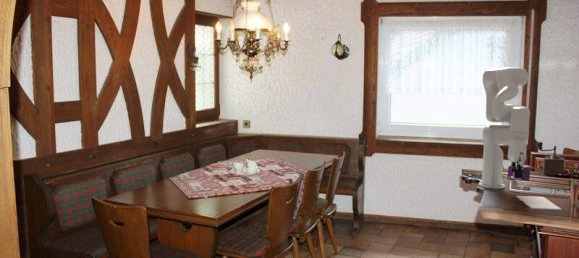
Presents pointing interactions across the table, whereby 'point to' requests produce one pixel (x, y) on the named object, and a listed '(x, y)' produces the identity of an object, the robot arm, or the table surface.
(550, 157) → the pepper mill
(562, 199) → the table surface
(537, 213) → the table surface
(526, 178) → the purple block
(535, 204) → the mat
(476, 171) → the table surface
